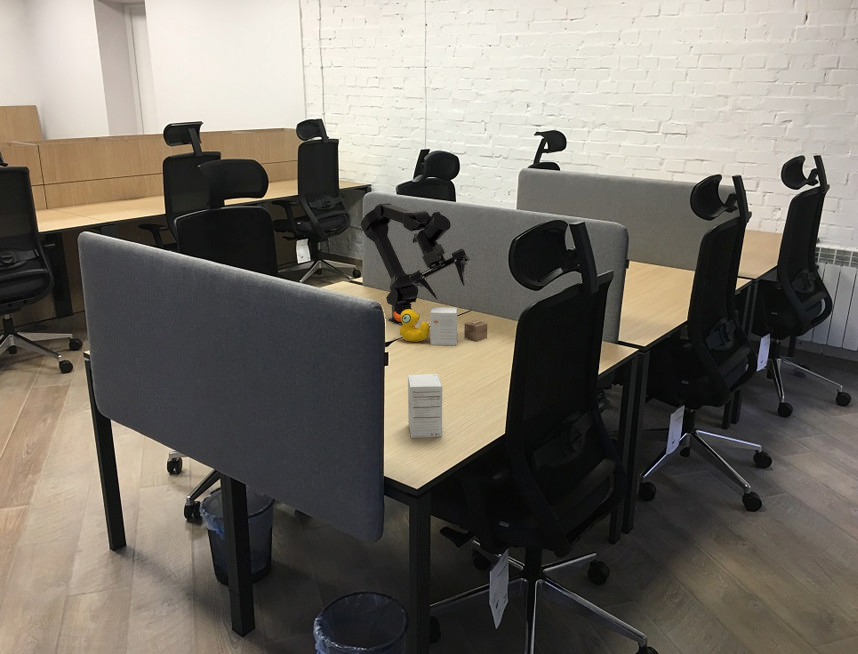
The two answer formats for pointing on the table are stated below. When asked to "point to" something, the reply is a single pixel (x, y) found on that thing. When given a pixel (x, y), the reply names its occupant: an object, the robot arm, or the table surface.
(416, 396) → the supplement box
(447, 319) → the small box
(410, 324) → the duckling
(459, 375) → the table surface
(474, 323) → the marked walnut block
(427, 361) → the table surface
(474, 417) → the table surface
